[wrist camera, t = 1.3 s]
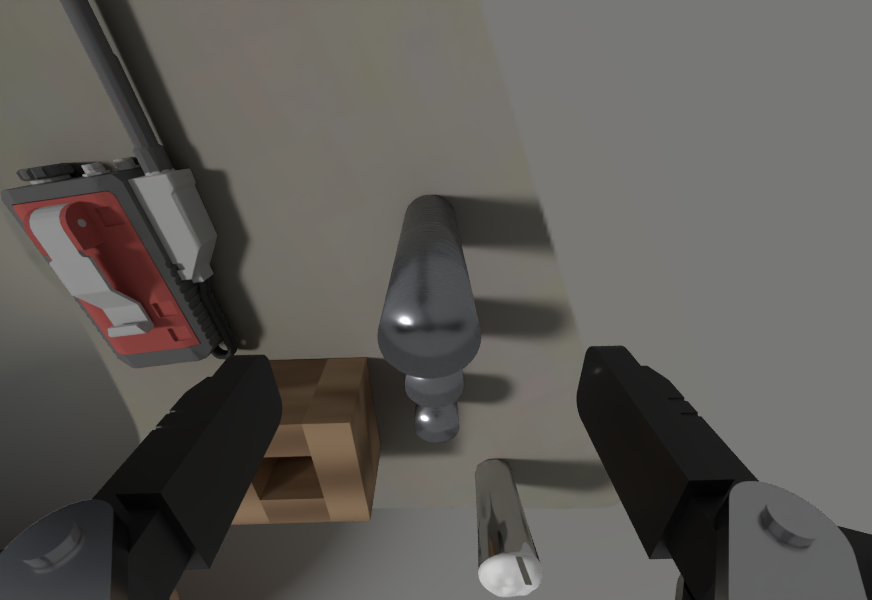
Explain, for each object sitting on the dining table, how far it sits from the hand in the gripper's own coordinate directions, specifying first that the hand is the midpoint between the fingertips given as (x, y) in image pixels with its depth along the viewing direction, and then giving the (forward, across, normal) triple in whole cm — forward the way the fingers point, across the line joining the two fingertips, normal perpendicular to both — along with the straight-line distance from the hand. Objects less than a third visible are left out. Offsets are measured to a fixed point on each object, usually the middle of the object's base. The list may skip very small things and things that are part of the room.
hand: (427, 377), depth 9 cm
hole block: (+14, +10, +15) cm, 22 cm away
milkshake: (+14, -5, +23) cm, 27 cm away
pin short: (+14, 0, +13) cm, 19 cm away
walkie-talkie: (+14, +17, -1) cm, 22 cm away
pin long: (+13, 0, 0) cm, 13 cm away
